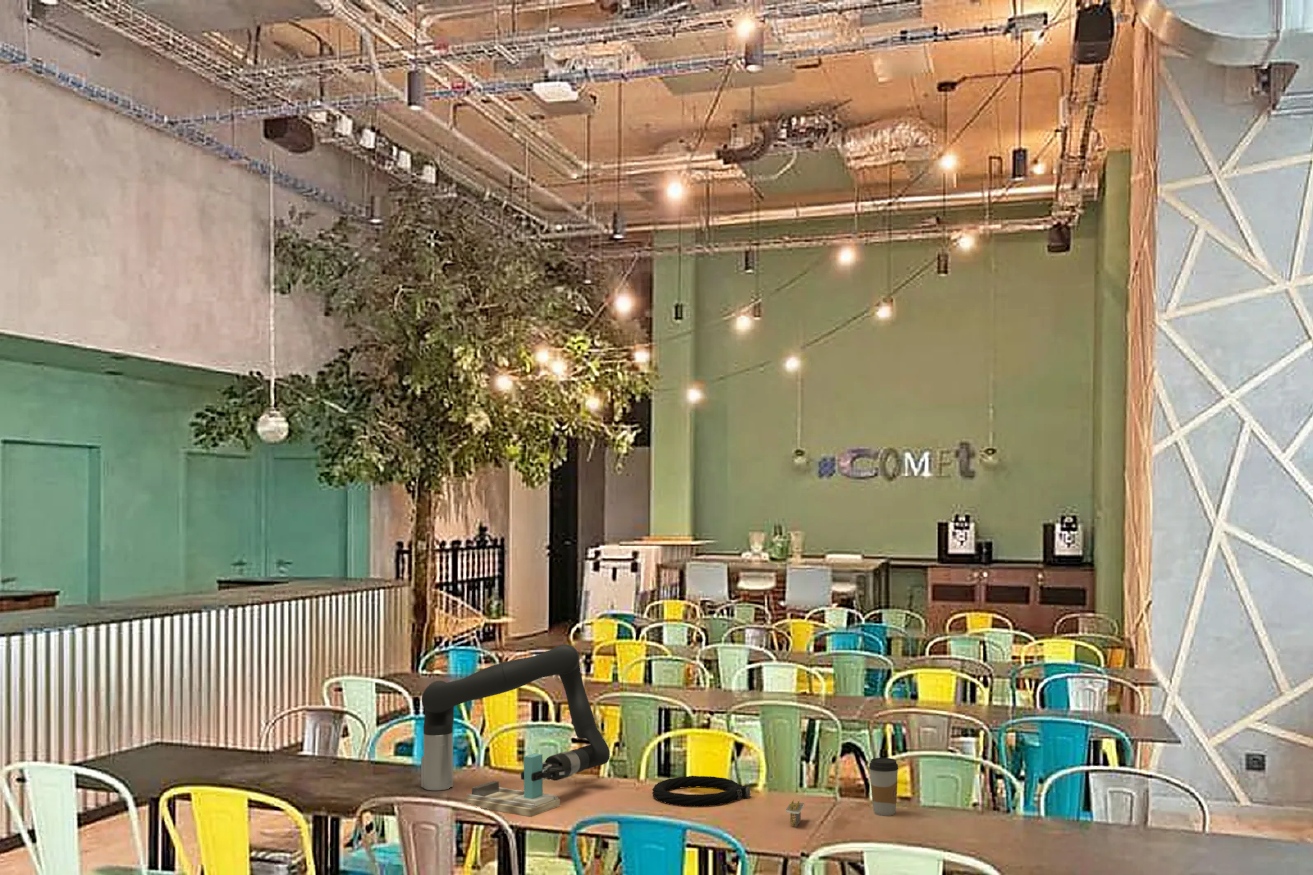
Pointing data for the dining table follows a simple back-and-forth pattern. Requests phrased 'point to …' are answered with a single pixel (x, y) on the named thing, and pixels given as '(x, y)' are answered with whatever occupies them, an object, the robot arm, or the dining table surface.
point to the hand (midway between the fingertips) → (527, 776)
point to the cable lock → (727, 796)
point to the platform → (795, 812)
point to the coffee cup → (884, 785)
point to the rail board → (506, 800)
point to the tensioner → (533, 782)
